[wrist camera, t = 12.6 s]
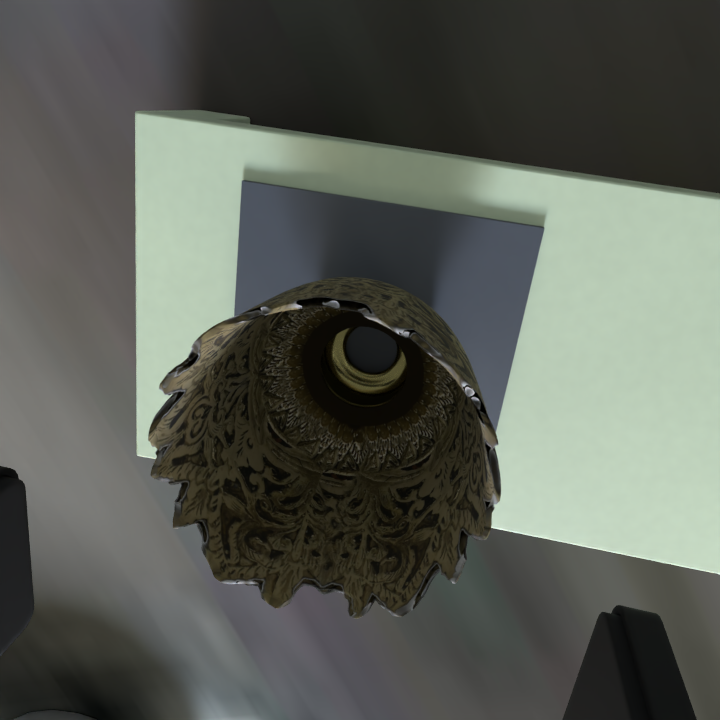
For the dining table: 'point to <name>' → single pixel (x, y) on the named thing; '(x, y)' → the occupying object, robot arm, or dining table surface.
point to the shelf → (468, 305)
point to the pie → (53, 716)
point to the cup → (330, 448)
